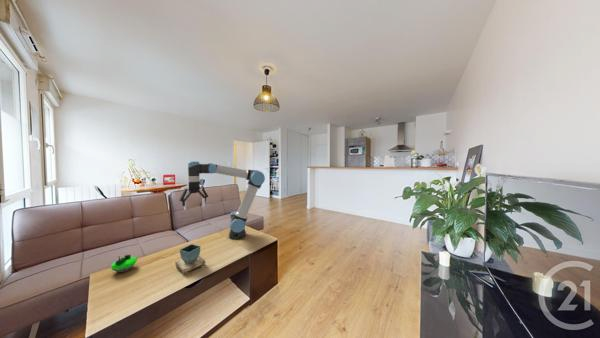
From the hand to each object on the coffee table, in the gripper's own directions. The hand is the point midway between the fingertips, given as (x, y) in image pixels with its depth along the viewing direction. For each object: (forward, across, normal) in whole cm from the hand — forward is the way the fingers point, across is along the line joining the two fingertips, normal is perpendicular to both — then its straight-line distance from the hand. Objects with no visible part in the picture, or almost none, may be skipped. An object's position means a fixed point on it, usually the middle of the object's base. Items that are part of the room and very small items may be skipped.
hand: (194, 208), depth 141 cm
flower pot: (+29, +13, +23) cm, 39 cm away
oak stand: (+33, +13, +23) cm, 42 cm away
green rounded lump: (+33, +40, -6) cm, 52 cm away
